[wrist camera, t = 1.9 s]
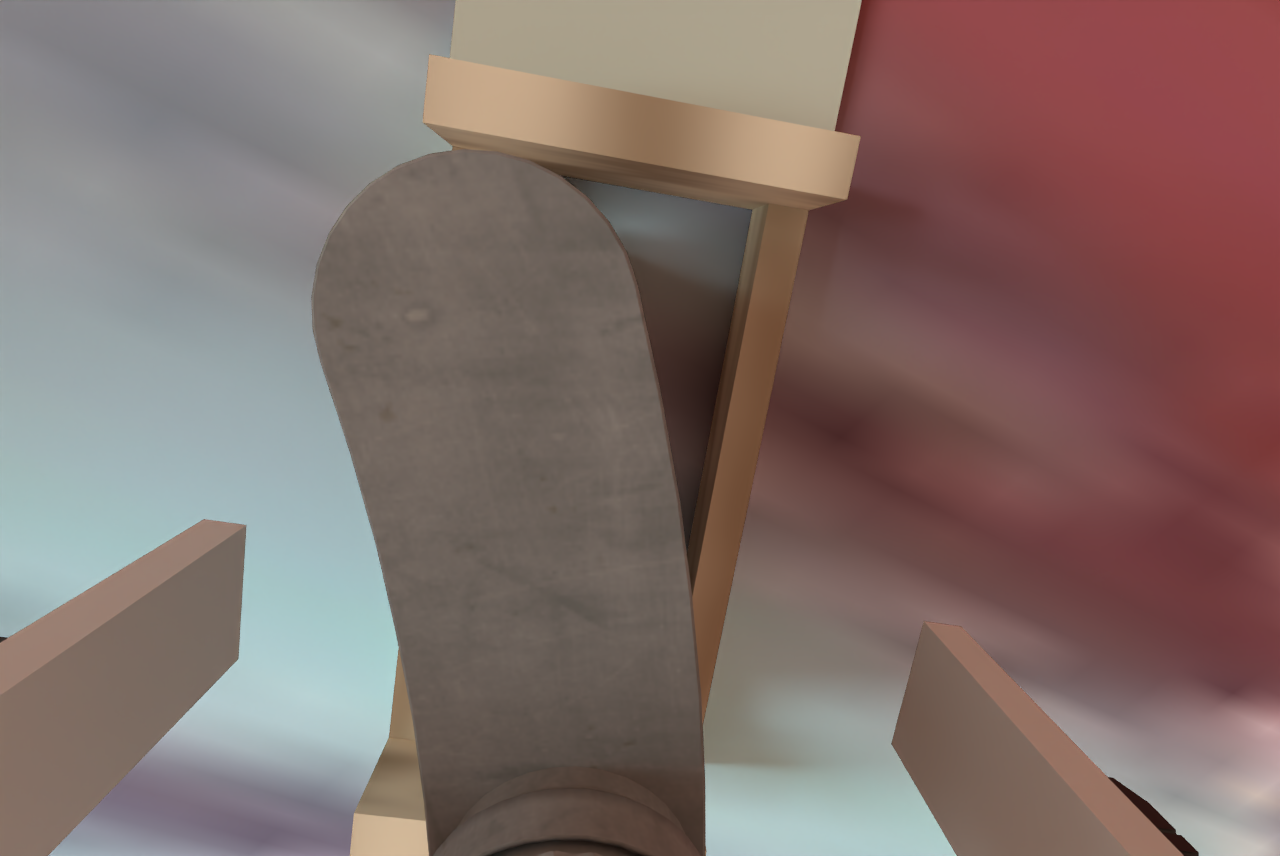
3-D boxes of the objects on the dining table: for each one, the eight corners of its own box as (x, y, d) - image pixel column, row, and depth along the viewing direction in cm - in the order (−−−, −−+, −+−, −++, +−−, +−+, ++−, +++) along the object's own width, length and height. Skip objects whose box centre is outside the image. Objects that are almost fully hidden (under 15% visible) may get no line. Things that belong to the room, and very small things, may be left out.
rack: (404, 731, 27) (349, 857, 21) (474, 108, 23) (429, 54, 17) (678, 763, 28) (697, 893, 22) (798, 168, 24) (860, 136, 18)
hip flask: (517, 234, 24) (109, 80, 4) (642, 232, 24) (804, 81, 4) (538, 678, 27) (366, 1723, 8) (647, 673, 27) (751, 1688, 8)
